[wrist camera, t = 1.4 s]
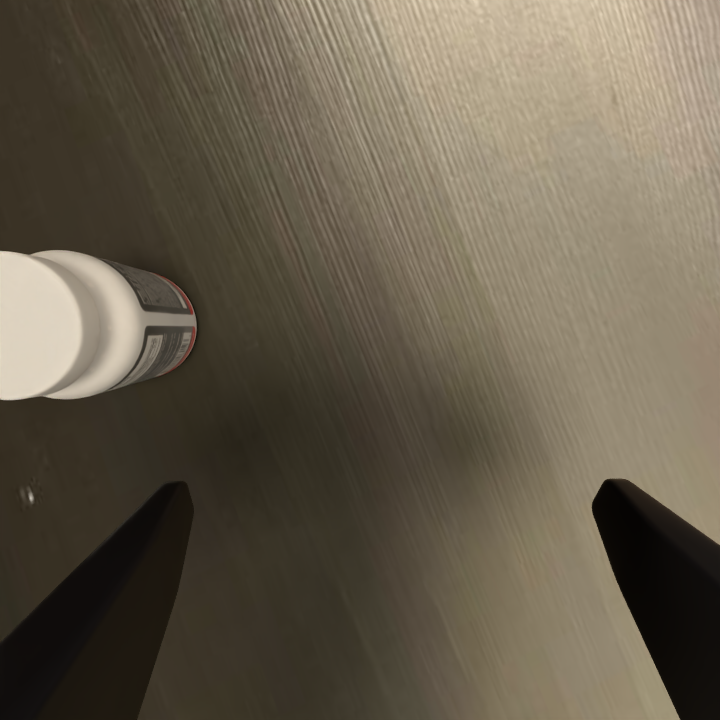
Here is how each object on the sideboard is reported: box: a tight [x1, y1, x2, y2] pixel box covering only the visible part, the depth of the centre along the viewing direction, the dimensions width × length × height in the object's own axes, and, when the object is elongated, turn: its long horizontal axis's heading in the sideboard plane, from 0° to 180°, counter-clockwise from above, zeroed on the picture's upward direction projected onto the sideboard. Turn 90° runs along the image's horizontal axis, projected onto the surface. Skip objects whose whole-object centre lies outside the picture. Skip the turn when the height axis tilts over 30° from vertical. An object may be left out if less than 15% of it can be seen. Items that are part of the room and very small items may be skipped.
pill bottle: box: [0, 250, 197, 400], centre depth 18 cm, size 6×6×10 cm
